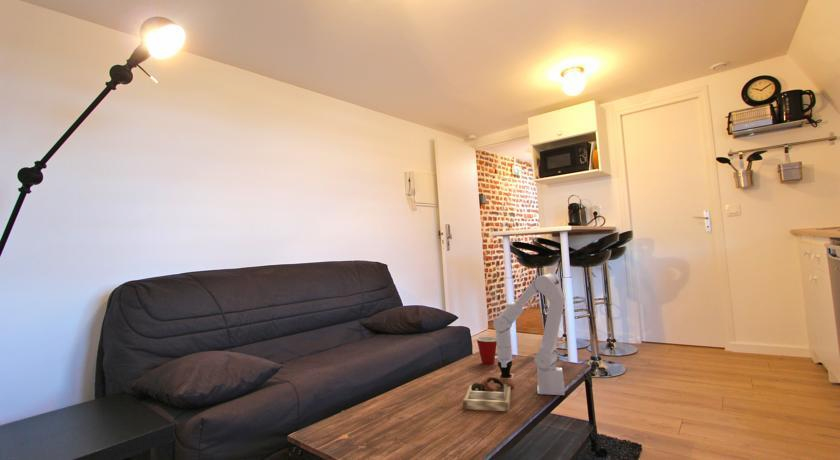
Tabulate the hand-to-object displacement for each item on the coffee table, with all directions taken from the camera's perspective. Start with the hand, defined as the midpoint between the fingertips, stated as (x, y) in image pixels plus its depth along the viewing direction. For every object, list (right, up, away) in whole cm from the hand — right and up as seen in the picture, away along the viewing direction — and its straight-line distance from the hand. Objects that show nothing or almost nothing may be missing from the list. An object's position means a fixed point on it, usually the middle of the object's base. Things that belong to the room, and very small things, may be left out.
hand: (506, 380), depth 157 cm
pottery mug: (-10, -2, -13) cm, 17 cm away
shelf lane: (-10, -2, -16) cm, 19 cm away
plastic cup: (-2, -4, +30) cm, 30 cm away
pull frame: (-7, -2, -8) cm, 11 cm away
